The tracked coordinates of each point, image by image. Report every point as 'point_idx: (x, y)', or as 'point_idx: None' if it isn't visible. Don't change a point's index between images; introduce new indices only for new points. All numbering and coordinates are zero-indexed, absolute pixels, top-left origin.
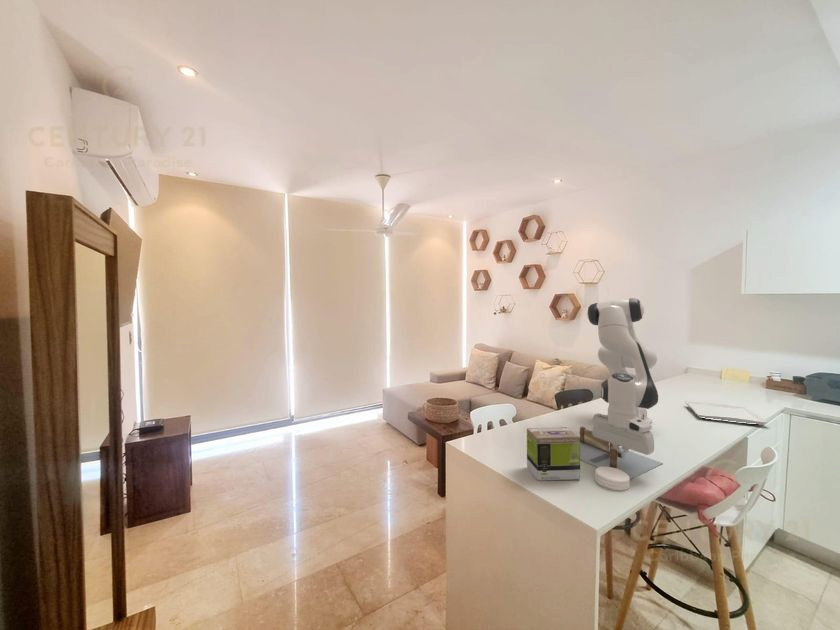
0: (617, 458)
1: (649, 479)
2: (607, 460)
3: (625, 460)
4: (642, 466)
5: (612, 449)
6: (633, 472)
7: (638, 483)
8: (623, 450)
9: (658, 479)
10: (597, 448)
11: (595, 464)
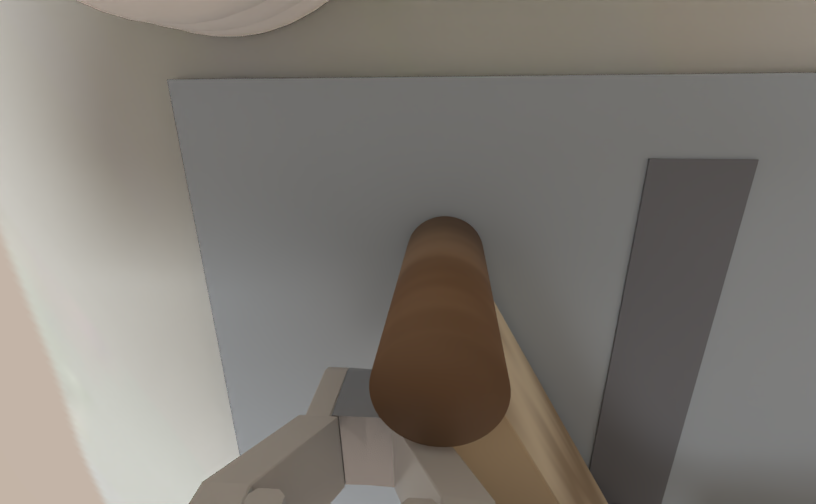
0: None
1: (129, 309)
2: (575, 356)
3: None
4: None
5: (475, 407)
6: (263, 310)
7: (96, 127)
8: (259, 474)
9: (107, 371)
10: None
11: (627, 118)
